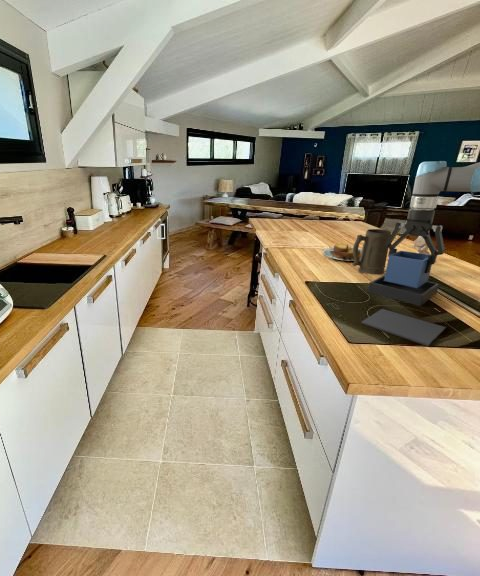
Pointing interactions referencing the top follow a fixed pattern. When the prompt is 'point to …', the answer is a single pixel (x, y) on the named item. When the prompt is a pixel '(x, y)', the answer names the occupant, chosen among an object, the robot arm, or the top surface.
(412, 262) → the blue bin
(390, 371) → the top surface
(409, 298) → the charcoal bin
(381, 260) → the beer stein
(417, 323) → the mat
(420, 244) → the figurine
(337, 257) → the food on plate
